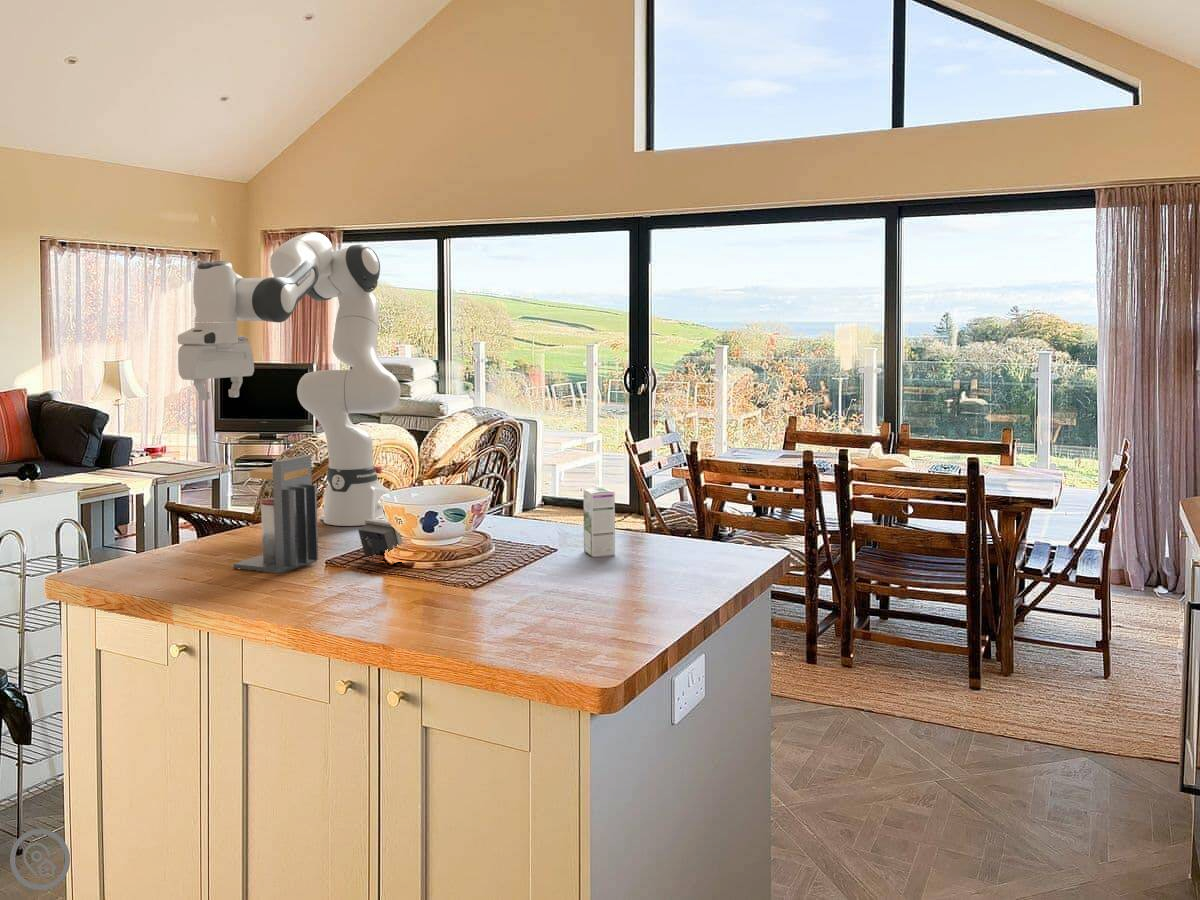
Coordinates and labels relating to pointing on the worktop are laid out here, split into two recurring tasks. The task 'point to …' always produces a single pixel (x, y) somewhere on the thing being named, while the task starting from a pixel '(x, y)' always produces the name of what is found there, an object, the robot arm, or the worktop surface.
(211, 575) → the worktop surface
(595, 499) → the syrup box
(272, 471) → the bracket
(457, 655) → the worktop surface
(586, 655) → the worktop surface
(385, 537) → the electrical switch
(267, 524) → the can
